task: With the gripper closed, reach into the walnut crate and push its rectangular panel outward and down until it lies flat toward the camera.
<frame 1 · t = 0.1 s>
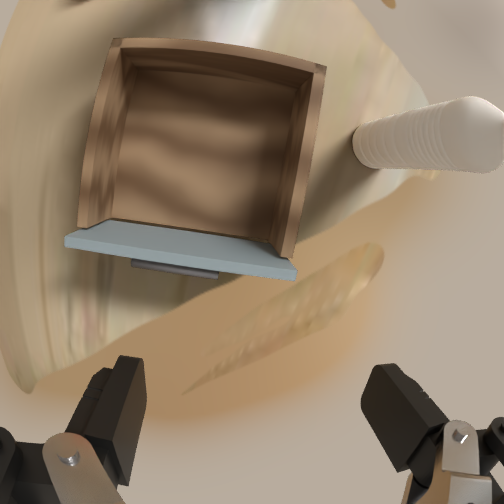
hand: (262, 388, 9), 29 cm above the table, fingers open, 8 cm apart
rectangular panel: (180, 250, 30), point 7 cm above the table, hinge at 0.0°
water bottle: (378, 147, 36), on the table
crate: (202, 145, 34), on the table
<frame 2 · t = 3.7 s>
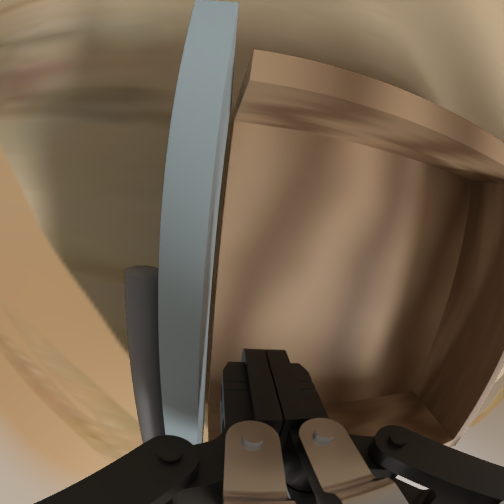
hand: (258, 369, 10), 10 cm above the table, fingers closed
rectangular panel: (181, 331, 12), point 7 cm above the table, hinge at 2.3°, touching gripper
crate: (355, 288, 21), on the table
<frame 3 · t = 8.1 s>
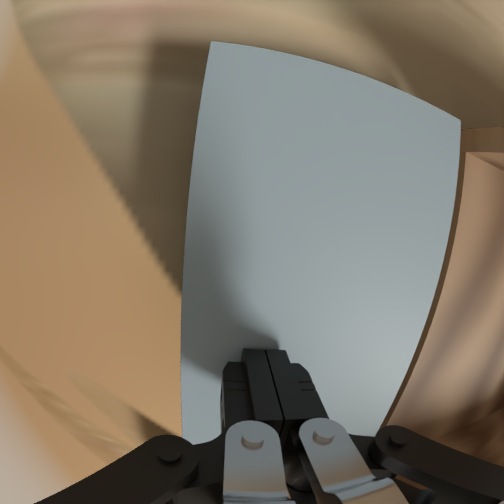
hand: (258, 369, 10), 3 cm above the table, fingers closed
rectangular panel: (308, 352, 12), point 2 cm above the table, hinge at 86.6°, touching gripper
crate: (498, 320, 16), on the table
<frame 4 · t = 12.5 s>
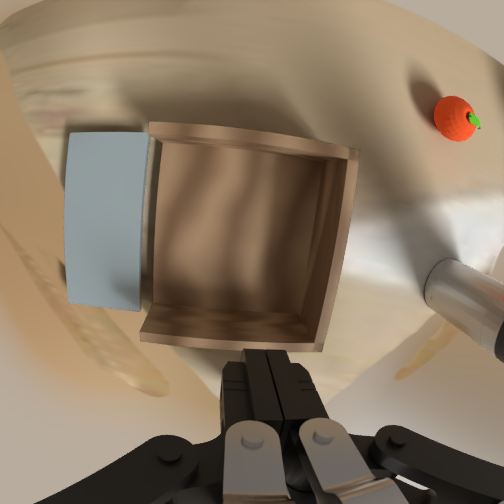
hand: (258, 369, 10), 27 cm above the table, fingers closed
rectangular panel: (103, 222, 32), point 2 cm above the table, hinge at 87.7°
crate: (238, 231, 36), on the table
clementine: (442, 121, 35), on the table
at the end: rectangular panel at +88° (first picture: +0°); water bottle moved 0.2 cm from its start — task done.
